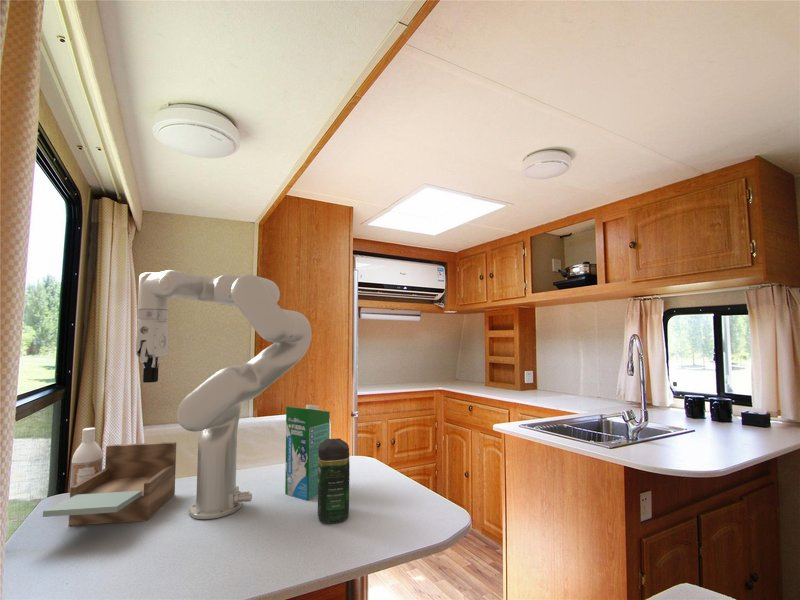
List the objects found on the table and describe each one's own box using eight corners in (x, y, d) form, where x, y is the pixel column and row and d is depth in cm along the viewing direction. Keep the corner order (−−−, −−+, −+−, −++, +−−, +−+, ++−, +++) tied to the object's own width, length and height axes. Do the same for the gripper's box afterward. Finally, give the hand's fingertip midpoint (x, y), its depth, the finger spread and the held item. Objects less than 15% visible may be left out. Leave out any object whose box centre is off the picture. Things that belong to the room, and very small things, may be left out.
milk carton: (329, 489, 119) (330, 403, 121) (307, 500, 111) (308, 408, 113) (307, 484, 124) (308, 401, 126) (284, 494, 116) (285, 405, 118)
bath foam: (67, 509, 108) (71, 432, 109) (70, 500, 113) (74, 428, 115) (99, 503, 111) (103, 429, 113) (101, 495, 117) (104, 424, 119)
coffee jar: (351, 522, 98) (351, 444, 100) (318, 526, 96) (318, 447, 98) (347, 506, 107) (347, 435, 109) (317, 509, 106) (317, 437, 107)
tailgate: (141, 490, 101) (116, 506, 90) (141, 498, 101) (116, 514, 90) (76, 494, 99) (43, 511, 88) (76, 502, 99) (42, 519, 88)
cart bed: (174, 495, 116) (176, 441, 118) (147, 520, 101) (150, 458, 102) (106, 499, 114) (109, 444, 115) (68, 525, 98) (71, 462, 99)
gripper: (155, 315, 107) (152, 385, 106) (178, 317, 122) (175, 378, 120) (124, 315, 106) (121, 385, 105) (151, 317, 121) (148, 379, 119)
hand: (150, 381), depth 113 cm, fingers closed
